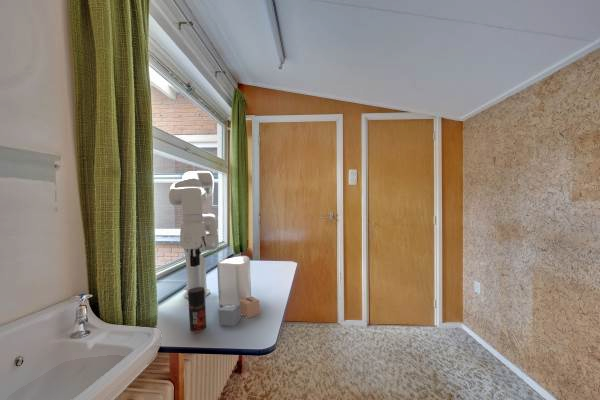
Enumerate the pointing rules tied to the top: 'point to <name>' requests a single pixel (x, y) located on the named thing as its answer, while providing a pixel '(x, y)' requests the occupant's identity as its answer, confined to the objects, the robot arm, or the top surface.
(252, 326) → the top surface
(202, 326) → the deodorant
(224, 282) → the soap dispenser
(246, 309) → the terracotta block marked
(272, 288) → the top surface
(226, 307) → the slate block marked
